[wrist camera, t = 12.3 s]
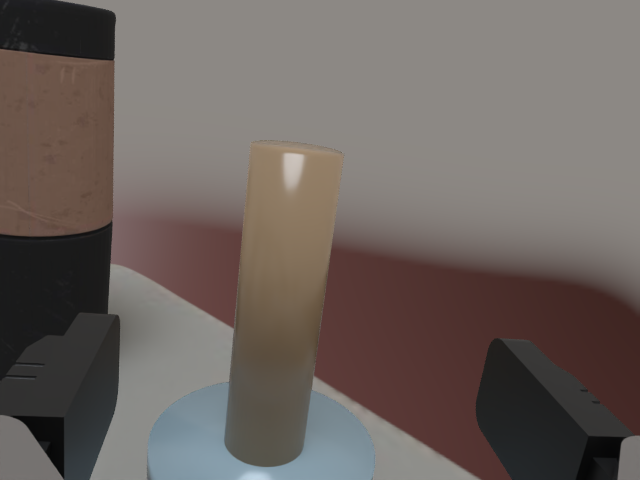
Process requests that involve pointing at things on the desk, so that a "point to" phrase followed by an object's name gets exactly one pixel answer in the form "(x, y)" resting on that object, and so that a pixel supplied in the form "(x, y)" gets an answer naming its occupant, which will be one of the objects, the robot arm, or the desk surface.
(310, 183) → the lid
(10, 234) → the travel mug
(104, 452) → the desk surface
